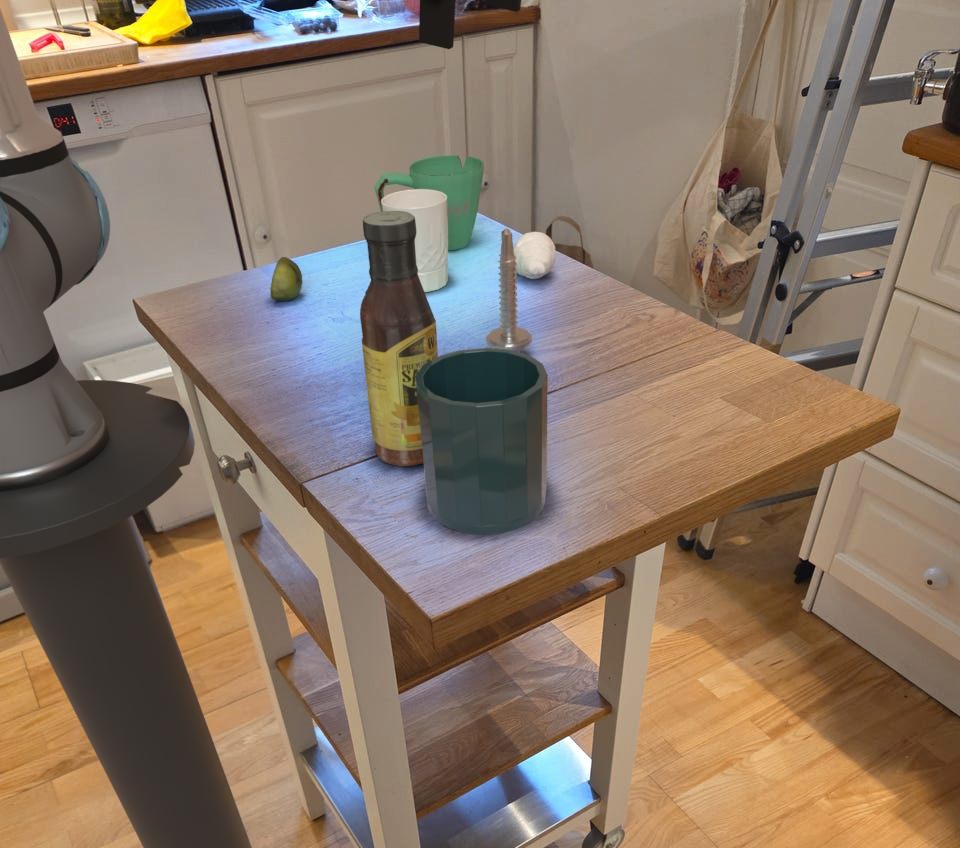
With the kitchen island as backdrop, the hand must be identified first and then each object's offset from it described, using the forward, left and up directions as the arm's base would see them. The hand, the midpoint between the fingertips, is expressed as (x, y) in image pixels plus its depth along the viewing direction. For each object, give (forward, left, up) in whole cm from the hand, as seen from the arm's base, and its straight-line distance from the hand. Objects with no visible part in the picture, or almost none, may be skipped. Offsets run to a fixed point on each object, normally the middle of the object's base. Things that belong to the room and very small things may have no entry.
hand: (472, 26), depth 74 cm
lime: (-29, -12, -29) cm, 43 cm away
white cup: (-24, +4, -29) cm, 38 cm away
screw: (+1, +2, -29) cm, 30 cm away
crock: (+24, -14, -29) cm, 40 cm away
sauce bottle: (+14, -16, -29) cm, 36 cm away
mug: (-36, +12, -29) cm, 48 cm away
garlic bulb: (-16, +16, -29) cm, 37 cm away
